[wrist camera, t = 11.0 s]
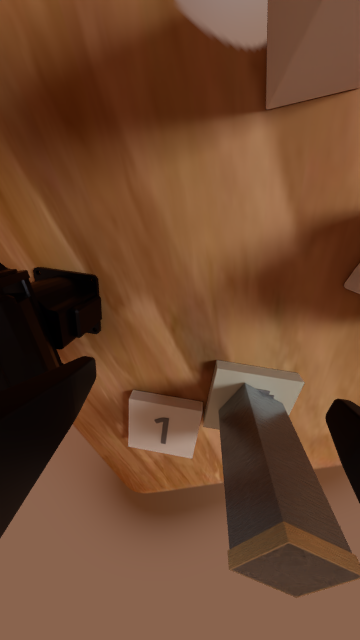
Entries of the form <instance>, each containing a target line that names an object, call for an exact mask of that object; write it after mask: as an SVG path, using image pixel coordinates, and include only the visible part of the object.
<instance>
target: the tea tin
mask: <svg viewBox="0 0 360 640" xmlns="http://www.w3.org/2000/svg"><path fill="white" fill-rule="evenodd" d="M218 414H219V426H220V438H221V450H222V462H223V475H224V487H225V499H226V511H227V524H228V536H229V548H230V550H228V562H229V563H228V564H229V570H231V571H233V572H236V573H238V574H241V575H243V576H245V577H248V578H251V579H253V580H255V581H257V582H260V583H262V584H264V585H267V586H269V587H272V588H274V589H276V590H279V591H281V592H284V593H286V594H288V595H291V596H293V597H295V598H298V597H301V596H304V595H308V594H311V593H315V592H318V591H321V590H325V589H328V588H331V587H335V586H338V585H341V584H344V583H348V582H351V581H355V580H358V579H360V563H359V561H358V559H357V557H356V555H354V554H352V552H351V550H350V547H349V545H348V543H347V541H346V539H345V537H344V535H343V532H342V530H341V528H340V526H339V524H338V522H337V520H336V517H335V515H334V513H333V511H332V509H331V506H330V505H329V502H328V500H327V498H326V496H325V494H324V492H323V489H322V487H321V485H320V483H319V481H318V478H317V476H316V474H315V472H314V470H313V468H312V465H311V463H310V461H309V459H308V457H307V455H306V453H305V450H304V448H303V446H302V444H301V442H300V440H299V437H298V435H297V433H296V431H295V429H294V427H293V425H292V422H291V420H290V418H289V416H288V414H287V412H286V409H285V407H284V405H283V403H281V402H279V401H277V400H275V399H274V398H272V397H270V396H268V395H266V394H264V393H263V392H261V391H259V390H257V389H255V388H254V387H252V386H250V385H248V384H246V383H244V384H243V385H242V386H241V387H240V388H239V389H238V391H237V392H236V393H235V394H234V395H233V396H232V397H231V398H230V399H229V400H228V401H227V402H226V403H225V404H224V405H223V406H222V407H221V408H220V409H219V410H218Z"/></svg>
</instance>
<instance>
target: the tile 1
mask: <svg viewBox="0 0 360 640" xmlns="http://www.w3.org/2000/svg"><path fill="white" fill-rule="evenodd" d="M202 412H203V402H200V401H195V400H189V399H183V398H177V397H172V396H166V395H160V394H154V393H148V392H143V391H137V390H133V391H132V393H131V395H130V398H129V435H128V446H129V447H134V448H139V449H144V450H150V451H155V452H160V453H166V454H171V455H176V456H182V457H187V458H192V457H193V452H194V448H195V443H196V439H197V434H198V430H199V426H200V421H201V417H202Z"/></svg>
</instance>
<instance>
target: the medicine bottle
mask: <svg viewBox="0 0 360 640" xmlns="http://www.w3.org/2000/svg"><path fill="white" fill-rule="evenodd" d="M344 287H345V288H346V289H348V290H351V291H353V292H356V293H358V294H360V263H359V264H358V266H357V267H356V268H355V270H354V271H353V272H352V274H351V275H350V276H349V278H348V279H347V281H346V282H345V284H344Z"/></svg>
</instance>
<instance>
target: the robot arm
mask: <svg viewBox="0 0 360 640" xmlns="http://www.w3.org/2000/svg"><path fill="white" fill-rule="evenodd" d="M39 271H40V273H41V274H40V273H39ZM33 272H34V278H35V282H32V283H30V281H29V278H30V276H29V274H28V271H27V270H22V271H17V269H8V268H7V267H5V266H4V265H2V264H1V263H0V538H1V536H2V535H3V533H4V532H5V530H6V528H7V527H8V525H9V524H10V522H11V521H12V519H13V517H14V516H15V514H16V512H17V511H18V510H19V508H20V506H21V505H22V503H23V502H24V500H25V498H26V497H27V495H28V494H29V492H30V490H31V489H32V487H33V486H34V484H35V483H36V481H37V479H38V478H39V476H40V474H41V473H42V471H43V470H44V468H45V467H46V465H47V463H48V462H49V460H50V459H51V457H52V456H53V454H54V453H55V451H56V449H57V448H58V446H59V445H60V443H61V441H62V440H63V438H64V437H65V435H66V434H67V432H68V430H69V429H70V427H71V425H72V424H73V422H74V421H75V419H76V417H77V415H78V414H79V412H80V410H81V408H82V406H83V404H84V402H85V400H86V398H87V396H88V394H89V392H90V390H91V388H92V386H93V384H94V382H95V379H96V363H95V359H94V358H93V357H87V356H83V357H80V358H78V359H75V360H73V361H71V362H68V363H66V364H63V363H62V362H61V360H60V357H59V355H58V352H57V349H63V348H64V347H65V346H67V345H68V344H69V343H70V342H71V341H73V340H74V339H75V338H76V337H77V338H80V337H81V336H83V335H84V334H85V333H92V334H98V333H99V332H100V331H101V321H100V320H101V319H102V312H101V298H100V296H99V284H98V278H97V276H95V275H93V274H86V273H79V272H72V271H65V270H58V269H51V268H44V267H37V268H34V270H33ZM91 278H93V279H94V282H92V281H91ZM95 328H96V329H97V330H95ZM326 423H327V425H328V428H329V431H330V433H331V436H332V439H333V442H334V444H335V447H336V450H337V453H338V455H339V458H340V461H341V463H342V466H343V468H344V470H345V473H346V475H347V477H348V479H349V481H350V483H351V486H352V488H353V490H354V492H355V494H356V496H357V499H358V501H359V503H360V407H359V406H358V405H356V404H355V403H353V402H351V401H349V400H344V399H336V400H334V402H333V403H332V405H331V407H330V408H329V410H328V412H327V413H326Z"/></svg>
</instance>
